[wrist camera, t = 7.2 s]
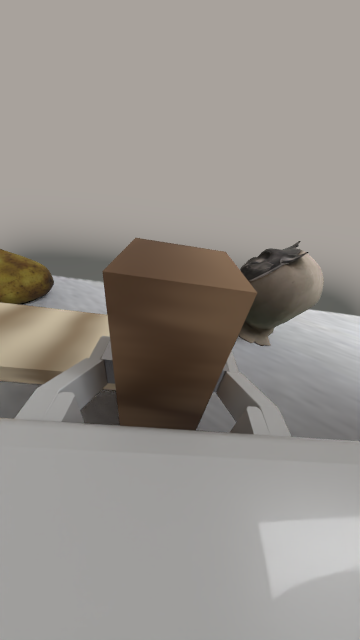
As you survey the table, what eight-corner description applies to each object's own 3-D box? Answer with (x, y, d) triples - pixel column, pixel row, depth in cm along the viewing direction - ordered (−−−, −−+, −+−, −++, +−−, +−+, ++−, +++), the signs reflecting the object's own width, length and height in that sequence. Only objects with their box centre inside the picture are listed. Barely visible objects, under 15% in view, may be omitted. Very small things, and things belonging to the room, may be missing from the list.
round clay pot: (215, 305, 30) (222, 345, 22) (238, 228, 24) (261, 243, 15) (272, 314, 31) (301, 358, 22) (311, 241, 24) (375, 263, 15)
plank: (194, 337, 22) (197, 325, 21) (199, 397, 16) (205, 383, 15) (-11, 315, 20) (-20, 300, 19) (-100, 372, 14) (-122, 355, 13)
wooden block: (182, 341, 21) (206, 227, 14) (184, 455, 12) (257, 292, 5) (147, 337, 20) (154, 218, 13) (122, 451, 11) (102, 271, 4)
